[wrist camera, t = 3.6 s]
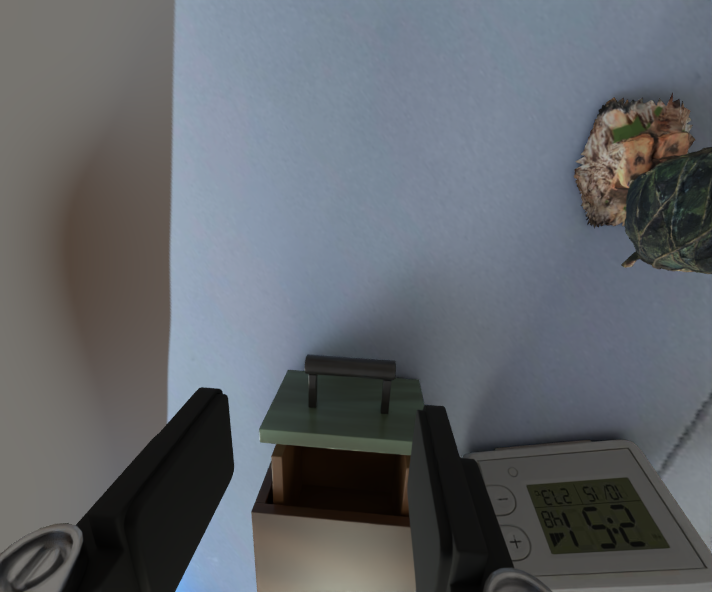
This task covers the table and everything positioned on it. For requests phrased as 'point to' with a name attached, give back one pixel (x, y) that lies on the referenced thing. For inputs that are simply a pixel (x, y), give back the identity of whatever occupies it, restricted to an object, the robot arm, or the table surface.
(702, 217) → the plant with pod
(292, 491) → the drawer
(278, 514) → the cabinet
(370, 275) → the table surface
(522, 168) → the table surface
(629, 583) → the digital clock
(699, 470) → the table surface
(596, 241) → the table surface
